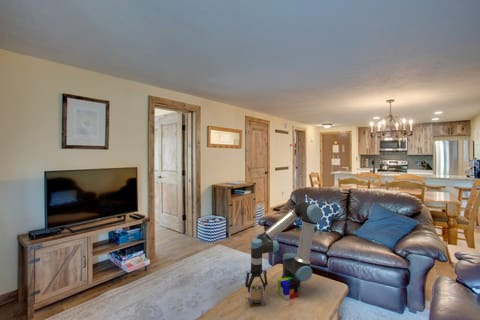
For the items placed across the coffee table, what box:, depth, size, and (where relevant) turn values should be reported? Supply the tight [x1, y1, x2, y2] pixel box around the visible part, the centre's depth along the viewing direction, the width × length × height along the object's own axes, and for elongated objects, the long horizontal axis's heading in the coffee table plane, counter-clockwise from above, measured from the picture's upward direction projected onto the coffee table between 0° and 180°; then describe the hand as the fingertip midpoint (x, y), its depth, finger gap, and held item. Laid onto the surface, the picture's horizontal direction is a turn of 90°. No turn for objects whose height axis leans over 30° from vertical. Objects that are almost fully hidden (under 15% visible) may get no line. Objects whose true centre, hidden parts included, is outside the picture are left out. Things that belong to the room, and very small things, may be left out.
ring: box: [251, 284, 264, 300], centre depth 168 cm, size 8×8×6 cm
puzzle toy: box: [277, 277, 299, 301], centre depth 177 cm, size 10×10×10 cm
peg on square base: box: [247, 284, 267, 308], centre depth 168 cm, size 10×10×12 cm
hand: (256, 295), depth 168 cm, fingers closed on ring, 8 cm apart
